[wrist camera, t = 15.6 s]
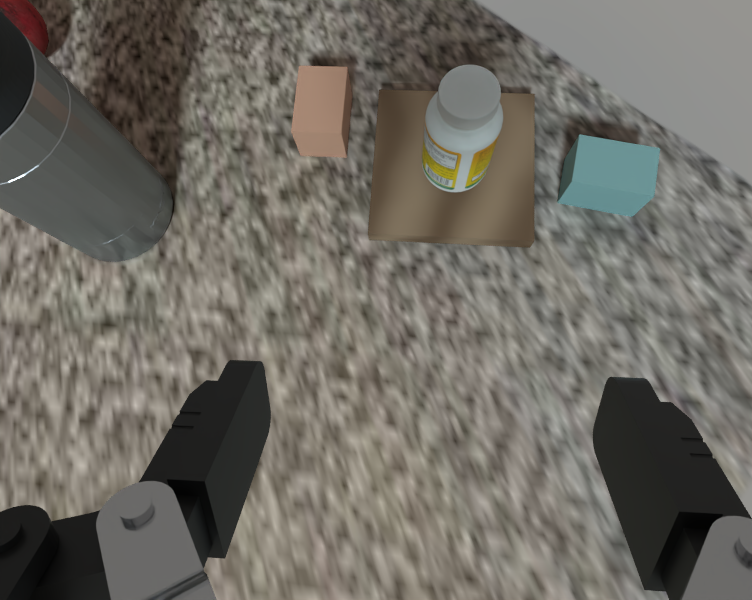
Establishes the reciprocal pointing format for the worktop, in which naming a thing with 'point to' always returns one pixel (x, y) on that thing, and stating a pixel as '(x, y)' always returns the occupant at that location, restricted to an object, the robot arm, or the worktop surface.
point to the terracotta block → (322, 111)
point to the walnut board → (451, 209)
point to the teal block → (609, 175)
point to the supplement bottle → (462, 128)
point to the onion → (27, 21)
